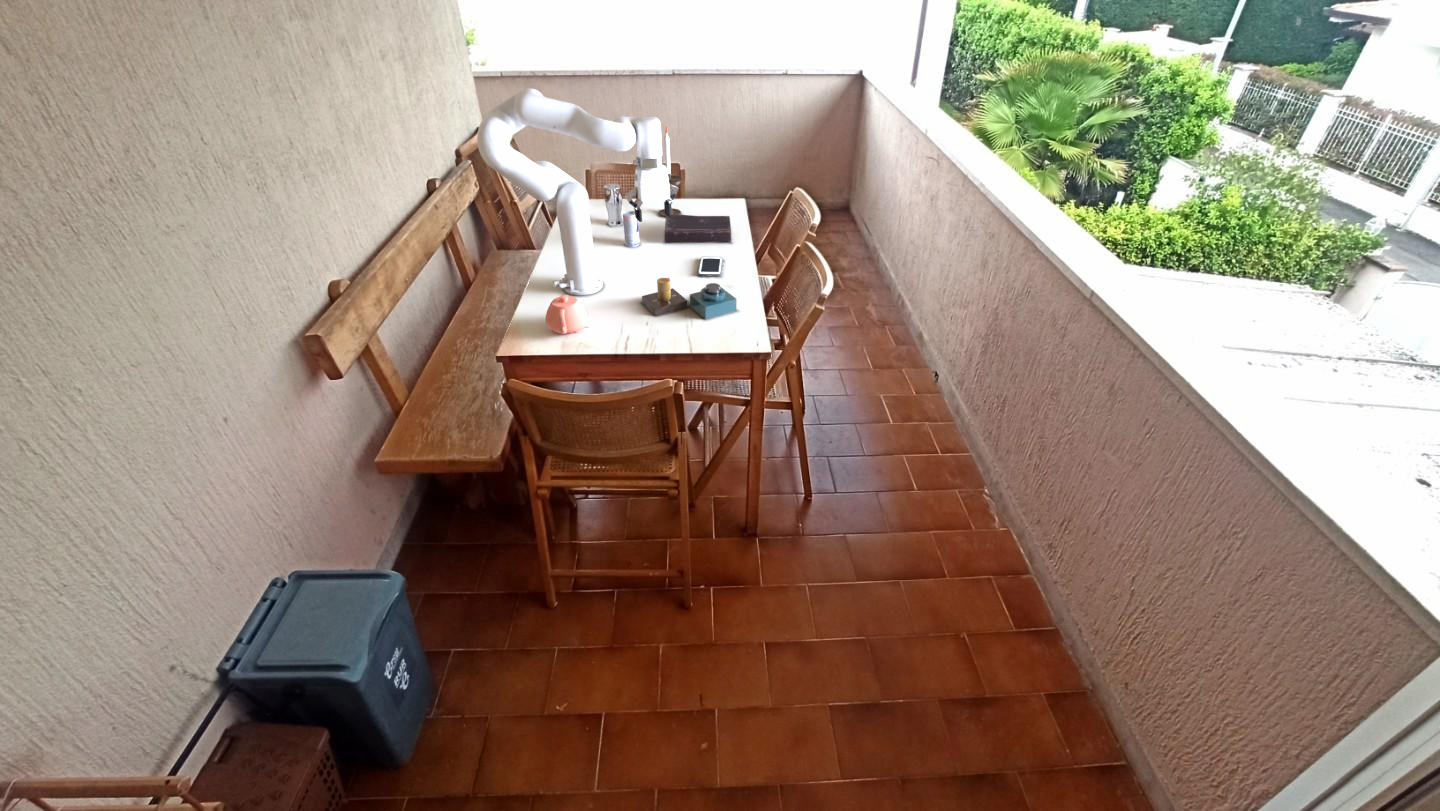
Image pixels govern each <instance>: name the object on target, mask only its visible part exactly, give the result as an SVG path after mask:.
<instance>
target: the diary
mask: <svg viewBox="0 0 1440 811" xmlns="http://www.w3.org/2000/svg"><path fill="white" fill-rule="evenodd" d="M731 227H732V226H731V216H730V215H690V214H681V215H671V216H670V217H668V216H667V215H666V218H665V223H664V231H663V234H664V243H665V244H675V243H691V244H693V243H694V244H695V243H696V244H699V243H701V244H702V243H705V244H706V243H725V244H727V243H732V228H731Z"/></svg>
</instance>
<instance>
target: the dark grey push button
mask: <svg viewBox="0 0 1440 811" xmlns="http://www.w3.org/2000/svg"><path fill="white" fill-rule="evenodd" d="M705 287H706V294H709V295H717V294H719V293H720V287H721V285H720V284H719V283H715V282H711V283H707V284H706V285H705Z"/></svg>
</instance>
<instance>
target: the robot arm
mask: <svg viewBox="0 0 1440 811" xmlns="http://www.w3.org/2000/svg"><path fill="white" fill-rule="evenodd" d="M526 127H530V128H535V129H539V130H543V131H547V132H551V133H557V134H561V135H565V136H569V137H572V138H574V139H576V140H579V141H581V142H583V143H586V144H589V145H592V146H595V147H598V148H603V149H606V150H611V151H615V152H626V151H629V150H630V149H632V148H633V147H634V145H635V148H636V159H634V160H632V164H633V166H636V167H635V172H634V188H632V189H631V190H630V191H628V192H627V193H625V195H624V197H625V199H626V201H627V202H628V204H629V205H631V206H632V207H633V209H634V211H635V218H636V219H637V220H638V223H642V222H643V213H642V209H641V207H642V205H643V204H649V203H657V202H660V201H662V202H663V209H664V210H665V214H666V215H667V216H668V217H670V216H671V207H672V204H673V201H674V200H675V199H676V197H677V194H678V191H679V187H678V186H677V185H671V184H669V180H668V174H667V170H666V164H664V160H663V143H662V142H663V141H662V124H661V121H660V119H659V118H658V117H657V116H649V115H648V116H647V115H646V116H640V117H638V116H637V117H636V116H627V115H618V116H614V117H613V118H612V119H611V120H607V119H604V118H601V117H597V116H595V115H593V114H590V113H588V112H587V111H586V110H584V109H583V108H582V107H581V106H579V105H577V104H576V103H572V102H567V101H564V100H559V99H555V98H551V97H547V96H544V95H543V94H542V92H540V91H539V90H538V89H535V88H531V87H527V88H523V89H521V90H520V91H518V92H517V93H515V94H514V95H512V96H511V97H509V98H507V99H505V100H504V101H503V102H501V103H499V104H498V105H497V106H495V107H493V108H491V110H489V111H488V112H487V113H486V114H485V115H484V117H483V118H482V120H481V122H480V124H479V125H478V129H477V136H476V137H477V139H476V142H477V149H478V151H479V155H480V156H481V158H482V160H483V161H484V163H486V165H488V167H490V168H491V169H492V170H493V171H495V173H497V174H498V175H500V176H502V177H503V178H505V179H506V180H508V181H509V182H510V183H512V184H513V185H515V186H516V187H518V188H519V189H520V190H522V191H524V192H525V193H526V194H527V195H529V196H531V197H532V198H533V199H535V200H536V201H539V202H549V201H550V200H552V201H554V202H555V203H556V217H557V222H558V228H559V233H560V240H561V245H562V251H563V258H564V265H565V272H566V274H565V273H564V274H563V277H562V278H561V279H556V280H553V281H552V284H553V287H554V288H555V287H559V288H560V289H563V290H564V291H565V292H566V293H568V294H570V295H572V296H573V295H574V296H589V295H592V294H596V293H597V292H599V291H600V290H602V289H603V281H602V279H601V278H598V276H597V266H596V259H595V249H594V243H593V242H594V241H593V234H592V226H591V218H590V216H591V215H590V203H589V202H590V198H589V194H588V190H587V189H586V187H585V186H584V185H582V183H580V182H579V181H578V180H576V179H575V178H573V177H572V176H571V175H569V174H568V173H566V172H565V171H563V170H562V169H561V168H560V167H558V166H557V165H555V164H553V163H552V162H550V161H547V160H536V161H533V160H531V159H530V158H529V157H527V156H526V155H524V154H523V153H522V152H520V151H518V150H516V149H515V148H513V147H512V146H511V144H510V141H511V138H512V136H514V135H515V134H517V133H518V132H520V131H521V130H523V129H524V128H526ZM670 189H671V194H670ZM634 196H635V200H634V201H633V197H634Z"/></svg>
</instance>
